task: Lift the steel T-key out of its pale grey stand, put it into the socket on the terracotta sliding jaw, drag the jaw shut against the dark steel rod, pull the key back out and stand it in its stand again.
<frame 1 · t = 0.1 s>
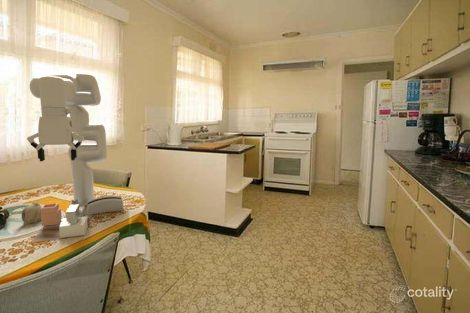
hand: (58, 160, 98), 31 cm above the table, tool pointing down, fingers open, 9 cm apart
sliding jaw: (51, 214, 111), point 6 cm above the table, slide at 0.0 cm
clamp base: (66, 212, 113), on the walnut board, point 6 cm above the table
key stand: (74, 226, 106), on the walnut board, point 4 cm above the table
walnut board: (64, 231, 109), on the table
grey arched block: (105, 214, 130), on the table
steel key: (73, 220, 105), in the key stand, point 6 cm above the table, touching walnut board
garlic bulb: (33, 224, 116), on the table
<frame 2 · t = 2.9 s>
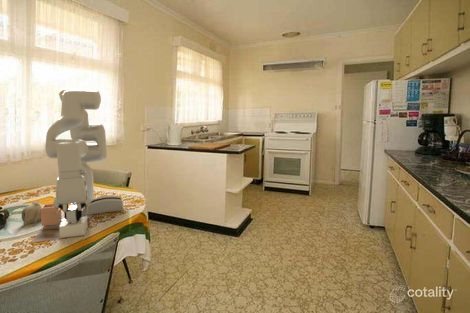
hand: (73, 219, 105), 7 cm above the table, tool pointing down, fingers closed on steel key, 3 cm apart
steel key: (73, 220, 105), in the key stand, point 6 cm above the table, touching gripper, walnut board
everything else where it was.
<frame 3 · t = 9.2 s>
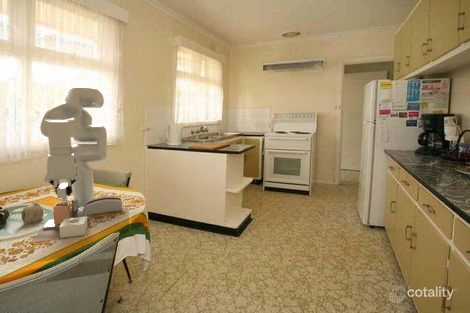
hand: (64, 194, 112), 14 cm above the table, tool pointing down, fingers closed on steel key, 3 cm apart
sliding jaw: (63, 212, 113), point 6 cm above the table, slide at 4.3 cm
steel key: (64, 197, 112), point 13 cm above the table, touching gripper
everything else where it was.
when the fingers open (8 cm above the table, at t = 15.2 s): steel key stays where it is, resting on walnut board.
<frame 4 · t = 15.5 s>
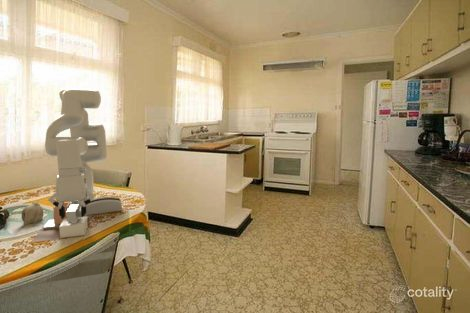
hand: (73, 216, 105), 8 cm above the table, tool pointing down, fingers open, 6 cm apart
steel key: (73, 219, 106), in the key stand, point 6 cm above the table, touching walnut board
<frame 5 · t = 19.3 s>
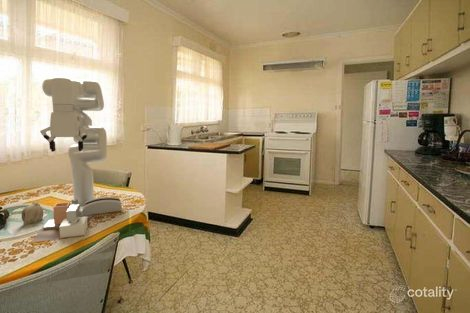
hand: (67, 150, 111), 32 cm above the table, tool pointing down, fingers open, 9 cm apart
at the end: sliding jaw slide at 4.3 cm; steel key 0.3 cm off-centre on the key stand, point 5.0 cm above the key stand's base; the gripper is holding nothing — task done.
